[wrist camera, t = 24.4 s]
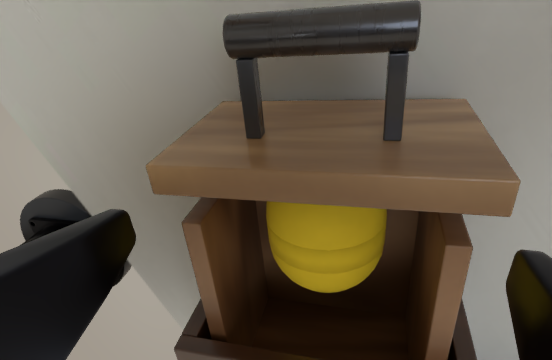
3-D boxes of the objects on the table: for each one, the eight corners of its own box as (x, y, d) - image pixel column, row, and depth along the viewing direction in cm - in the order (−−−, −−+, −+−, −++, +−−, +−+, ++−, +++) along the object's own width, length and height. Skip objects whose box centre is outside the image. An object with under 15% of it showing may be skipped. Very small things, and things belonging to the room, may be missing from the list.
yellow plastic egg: (382, 246, 19) (380, 328, 15) (287, 237, 20) (260, 309, 16) (390, 134, 16) (391, 195, 12) (278, 132, 17) (241, 186, 13)
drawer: (207, 9, 16) (104, 31, 10) (486, -15, 13) (574, -2, 7) (253, 290, 25) (211, 394, 19) (429, 313, 22) (447, 445, 16)
